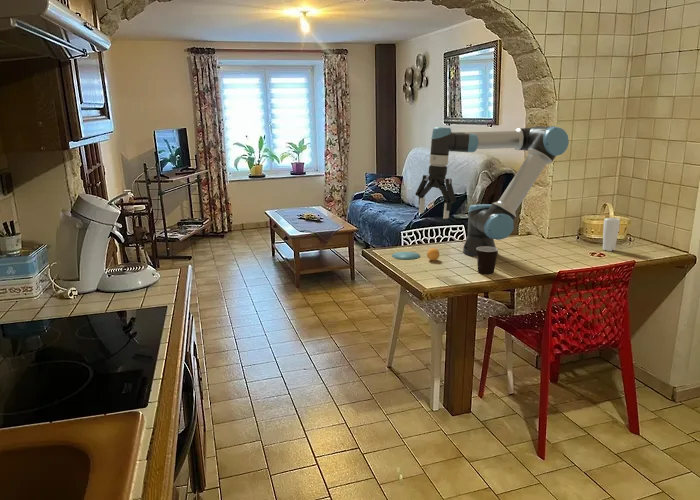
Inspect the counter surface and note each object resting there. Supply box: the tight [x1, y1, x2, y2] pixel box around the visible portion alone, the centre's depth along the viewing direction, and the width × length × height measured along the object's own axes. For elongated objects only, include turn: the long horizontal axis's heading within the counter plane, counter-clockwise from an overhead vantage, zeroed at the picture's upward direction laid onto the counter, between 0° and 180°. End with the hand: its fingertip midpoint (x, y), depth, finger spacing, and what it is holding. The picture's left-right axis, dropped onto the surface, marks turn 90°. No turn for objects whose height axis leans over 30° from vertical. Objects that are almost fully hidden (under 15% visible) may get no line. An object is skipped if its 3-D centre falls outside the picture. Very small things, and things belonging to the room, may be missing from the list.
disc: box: [391, 251, 421, 261], centre depth 244 cm, size 13×13×1 cm
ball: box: [426, 247, 440, 262], centre depth 236 cm, size 6×6×6 cm
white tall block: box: [602, 217, 621, 252], centre depth 246 cm, size 7×7×15 cm
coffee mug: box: [476, 246, 499, 276], centre depth 218 cm, size 12×9×10 cm
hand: (433, 215), depth 224 cm, fingers open, 13 cm apart
